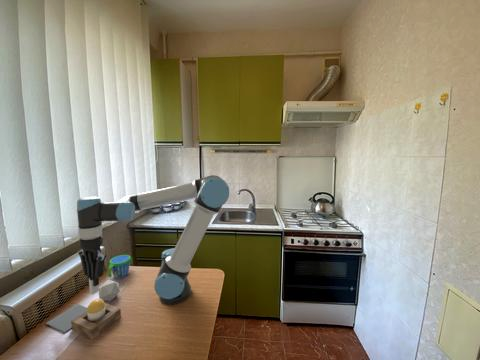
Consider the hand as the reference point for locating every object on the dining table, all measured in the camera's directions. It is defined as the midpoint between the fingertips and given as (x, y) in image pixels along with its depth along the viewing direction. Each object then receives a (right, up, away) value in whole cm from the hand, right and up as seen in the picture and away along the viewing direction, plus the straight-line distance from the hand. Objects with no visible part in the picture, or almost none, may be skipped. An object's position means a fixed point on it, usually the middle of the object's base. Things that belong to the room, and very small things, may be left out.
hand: (94, 292), depth 84 cm
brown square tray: (0, -14, +2) cm, 14 cm away
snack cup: (-10, -10, +36) cm, 39 cm away
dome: (0, -11, +1) cm, 11 cm away
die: (-5, -12, +17) cm, 22 cm away
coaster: (-13, -13, +4) cm, 19 cm away
